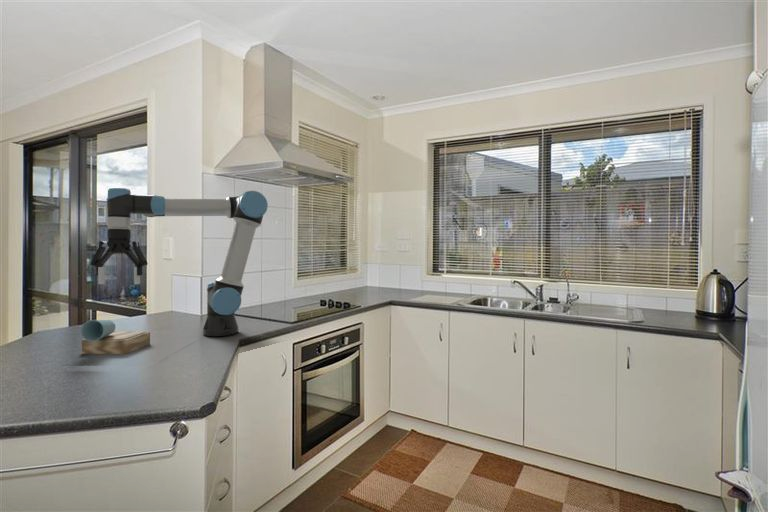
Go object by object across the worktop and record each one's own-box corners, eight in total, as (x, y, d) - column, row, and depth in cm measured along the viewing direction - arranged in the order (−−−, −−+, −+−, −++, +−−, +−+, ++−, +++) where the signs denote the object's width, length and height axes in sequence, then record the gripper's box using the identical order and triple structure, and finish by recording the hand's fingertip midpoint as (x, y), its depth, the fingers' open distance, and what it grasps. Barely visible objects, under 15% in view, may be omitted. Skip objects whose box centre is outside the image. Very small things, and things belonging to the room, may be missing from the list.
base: (150, 344, 169) (150, 331, 169) (125, 354, 153) (125, 339, 153) (110, 343, 169) (110, 330, 169) (81, 353, 153) (81, 339, 153)
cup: (120, 318, 161) (105, 321, 151) (117, 338, 161) (101, 342, 151) (99, 316, 161) (82, 318, 150) (96, 336, 160) (79, 340, 150)
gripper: (157, 229, 165) (157, 283, 165) (93, 229, 164) (93, 283, 165) (146, 228, 157) (146, 285, 158) (79, 228, 157) (79, 284, 157)
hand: (119, 284), depth 161 cm, fingers open, 13 cm apart
